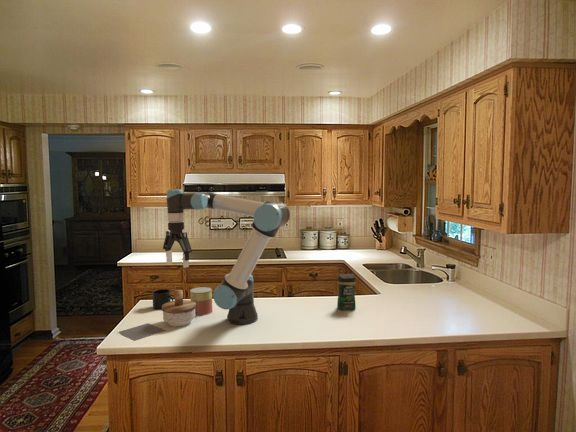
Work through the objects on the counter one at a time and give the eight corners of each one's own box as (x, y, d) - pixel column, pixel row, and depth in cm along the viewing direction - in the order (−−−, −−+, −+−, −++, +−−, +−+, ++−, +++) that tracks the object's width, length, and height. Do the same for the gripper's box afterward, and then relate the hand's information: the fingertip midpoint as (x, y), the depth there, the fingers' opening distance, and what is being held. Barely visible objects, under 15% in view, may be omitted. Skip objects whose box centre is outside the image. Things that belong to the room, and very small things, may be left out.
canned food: (209, 307, 228) (208, 286, 227) (215, 313, 218) (214, 291, 217) (188, 310, 223) (188, 288, 222) (193, 316, 213) (192, 293, 212)
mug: (168, 311, 223) (168, 294, 223) (149, 309, 227) (148, 293, 226) (178, 305, 232) (177, 290, 232) (159, 304, 236) (158, 288, 235)
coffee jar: (339, 311, 219) (339, 276, 217) (336, 306, 227) (335, 272, 225) (357, 310, 219) (357, 275, 218) (353, 305, 227) (353, 272, 226)
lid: (202, 307, 203) (201, 290, 202) (173, 315, 191) (172, 297, 191) (183, 301, 214) (183, 284, 213) (155, 308, 202) (154, 291, 201)
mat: (166, 331, 193) (166, 330, 193) (134, 341, 181) (134, 340, 181) (147, 323, 203) (147, 323, 203) (116, 333, 191) (116, 332, 191)
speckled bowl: (178, 331, 193) (177, 314, 192) (156, 325, 201) (156, 309, 200) (202, 321, 205) (201, 306, 205) (180, 316, 214) (180, 301, 213)
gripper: (198, 222, 194) (200, 267, 196) (167, 219, 210) (169, 261, 212) (185, 223, 188) (186, 270, 190) (154, 221, 204) (156, 263, 206)
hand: (177, 265), depth 201 cm, fingers open, 13 cm apart
